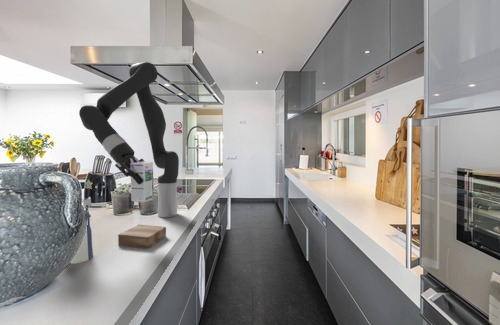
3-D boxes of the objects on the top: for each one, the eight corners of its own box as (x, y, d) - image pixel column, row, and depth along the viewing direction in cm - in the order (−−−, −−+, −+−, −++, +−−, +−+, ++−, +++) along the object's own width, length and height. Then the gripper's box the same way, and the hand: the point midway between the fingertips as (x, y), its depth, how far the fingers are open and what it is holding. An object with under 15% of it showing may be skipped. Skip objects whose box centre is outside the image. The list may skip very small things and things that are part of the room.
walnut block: (139, 234, 105) (138, 224, 104) (165, 236, 102) (165, 226, 102) (118, 245, 93) (118, 234, 93) (148, 248, 91) (148, 237, 90)
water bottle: (71, 253, 86) (69, 178, 84) (98, 252, 87) (96, 178, 85) (55, 264, 78) (53, 182, 76) (86, 263, 79) (84, 182, 77)
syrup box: (144, 202, 93) (144, 162, 92) (130, 201, 94) (130, 162, 93) (153, 199, 99) (153, 161, 98) (140, 198, 100) (139, 161, 99)
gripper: (110, 141, 90) (141, 177, 88) (136, 142, 104) (163, 172, 102) (97, 156, 91) (127, 191, 89) (125, 154, 105) (151, 185, 103)
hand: (146, 181), depth 96 cm, fingers closed on syrup box, 5 cm apart
